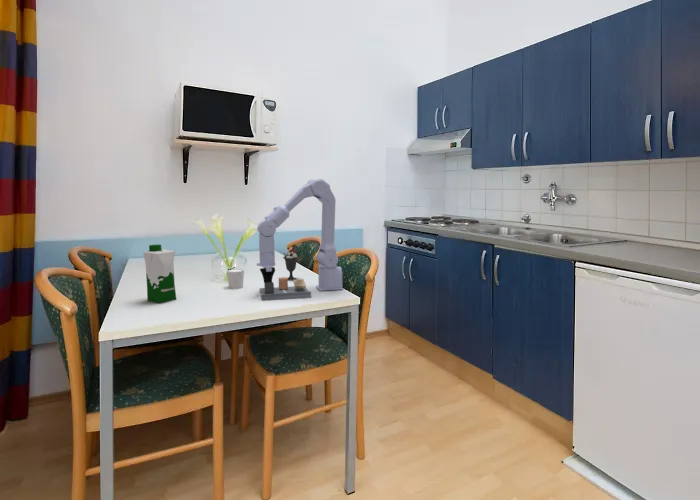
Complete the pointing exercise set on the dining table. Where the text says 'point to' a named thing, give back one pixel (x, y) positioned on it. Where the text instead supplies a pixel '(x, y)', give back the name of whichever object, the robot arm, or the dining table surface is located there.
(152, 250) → the milk carton
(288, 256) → the sundae
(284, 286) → the terracotta knob
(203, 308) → the dining table surface
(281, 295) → the panel
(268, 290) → the black knob
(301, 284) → the block
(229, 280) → the grey tapered cup
